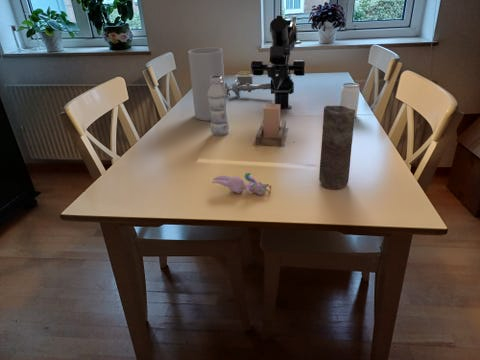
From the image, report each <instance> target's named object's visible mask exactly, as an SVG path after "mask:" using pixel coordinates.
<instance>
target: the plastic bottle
mask: <svg viewBox="0 0 480 360" xmlns="http://www.w3.org/2000/svg"><path fill="white" fill-rule="evenodd" d="M210 82H211V86H210V88H209V90H208V99H209V103H210V109H211V121H210V125H209V127H210V132H211V134H212V136H217V137H221V136H226V135H228V134H229V131H230V126H229V125H230V124H229V121H228V116H227V96H228V95H227V92H226V89H225V88H224V86H223V85H222V84H221V83H222V77H221V76H211V81H210Z"/></svg>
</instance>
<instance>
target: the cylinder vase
mask: <svg viewBox="0 0 480 360" xmlns="http://www.w3.org/2000/svg"><path fill="white" fill-rule="evenodd" d="M223 54H224V53H223V49H222V48H220V47H204V48H203V47H200V48H193V49H190V50H188V62H189V63H188V64H189V72H190V80H191V89H192V90H191V91H192V99H193V108H194V109H193V110H194V116H195V118H196V119H197V120H200V121H205V122H206V121H207V122H208V121H210V122H211V109H210V103H209V99H208V90H209V88H210V86H211V82H210V81H211V76H221V77H222V83H221V84H222V85H223V86H224V88H225V83H226V82H225V71H224V69H225V67H224V55H223Z"/></svg>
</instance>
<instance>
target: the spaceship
mask: <svg viewBox="0 0 480 360" xmlns="http://www.w3.org/2000/svg"><path fill="white" fill-rule="evenodd" d="M224 83H225V89H226V92H227V96H231V93H230V91H232V92H234V95H235V97H236V98H240V96H241V91H243V92H248V93H252V91H255V90H271V82H268V83H260V84H253V83H252V84H249V83H247V84H240V83H239V81H238V80H237V79H235V81H234V85H232V86H229V84H230V82H224Z"/></svg>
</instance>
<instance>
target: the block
mask: <svg viewBox="0 0 480 360" xmlns="http://www.w3.org/2000/svg"><path fill="white" fill-rule="evenodd" d="M280 106H281V104H275V103H265V104H264V106H263V109H262V113H263V114H262V115H263V117H262V121H263V138H277V137H278V134H279V130H280V127H281V110H280Z"/></svg>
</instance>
